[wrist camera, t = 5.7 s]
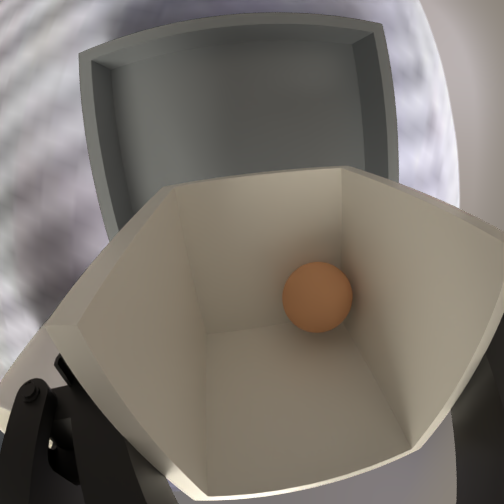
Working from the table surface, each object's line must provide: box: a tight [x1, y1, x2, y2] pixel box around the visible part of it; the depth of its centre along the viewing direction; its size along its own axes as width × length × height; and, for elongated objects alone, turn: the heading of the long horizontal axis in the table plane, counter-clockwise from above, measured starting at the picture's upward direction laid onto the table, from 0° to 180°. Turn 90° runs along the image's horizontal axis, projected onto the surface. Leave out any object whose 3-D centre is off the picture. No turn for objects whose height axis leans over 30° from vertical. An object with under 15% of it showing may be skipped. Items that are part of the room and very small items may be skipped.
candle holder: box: [0, 319, 67, 448], centre depth 17 cm, size 10×10×12 cm
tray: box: [79, 12, 399, 242], centre depth 16 cm, size 18×18×4 cm
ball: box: [282, 262, 353, 333], centre depth 11 cm, size 3×3×3 cm
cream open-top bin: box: [44, 166, 504, 500], centre depth 9 cm, size 8×8×9 cm
